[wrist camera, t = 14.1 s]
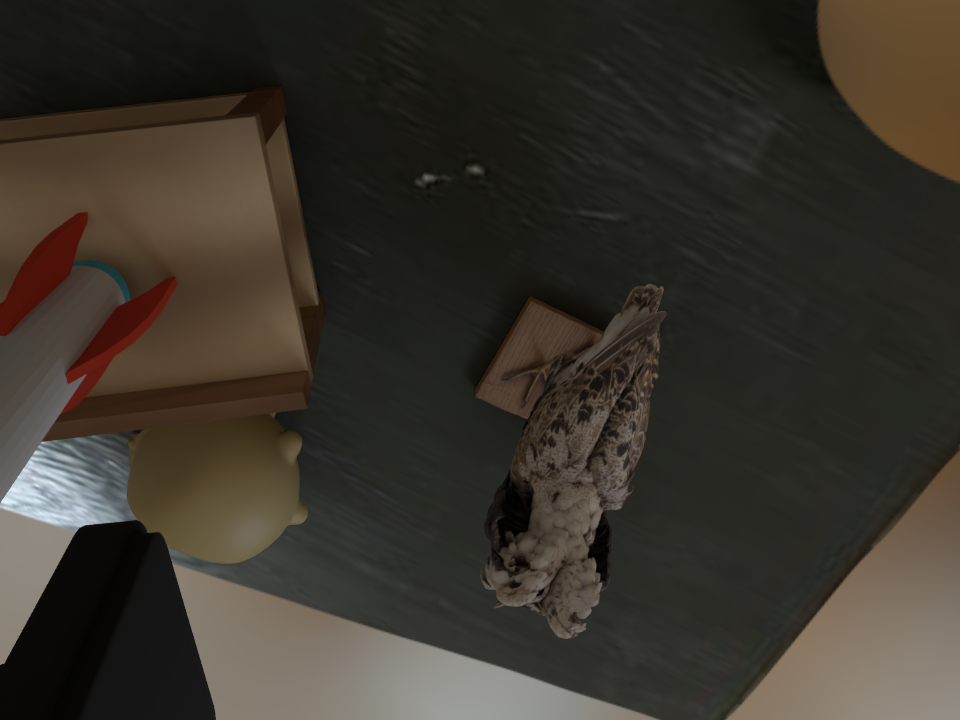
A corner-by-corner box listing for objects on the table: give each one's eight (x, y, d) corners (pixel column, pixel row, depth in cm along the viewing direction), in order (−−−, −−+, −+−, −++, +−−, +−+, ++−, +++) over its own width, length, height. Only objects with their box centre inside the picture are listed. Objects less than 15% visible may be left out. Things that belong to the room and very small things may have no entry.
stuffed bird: (453, 486, 59) (473, 672, 44) (501, 217, 51) (547, 332, 36) (587, 497, 61) (652, 681, 45) (655, 238, 52) (763, 356, 37)
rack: (-45, 120, 46) (-186, 173, 35) (282, 84, 46) (246, 125, 35) (38, 347, 52) (-59, 454, 41) (325, 313, 53) (307, 409, 42)
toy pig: (226, 350, 57) (69, 397, 50) (336, 409, 50) (171, 474, 42) (238, 473, 61) (94, 533, 54) (341, 544, 54) (190, 625, 46)
